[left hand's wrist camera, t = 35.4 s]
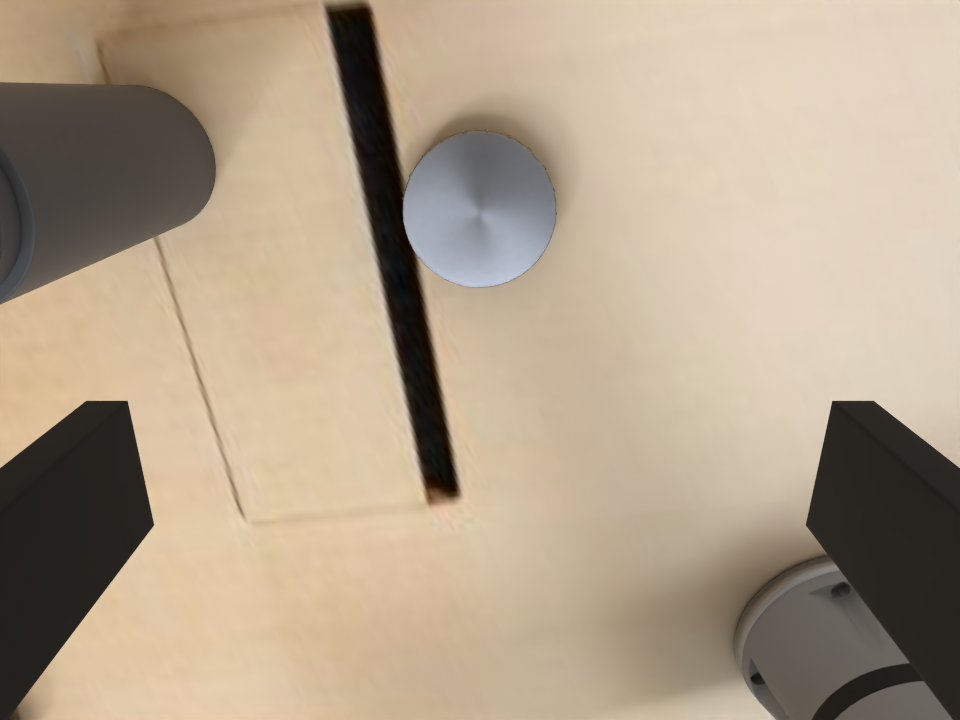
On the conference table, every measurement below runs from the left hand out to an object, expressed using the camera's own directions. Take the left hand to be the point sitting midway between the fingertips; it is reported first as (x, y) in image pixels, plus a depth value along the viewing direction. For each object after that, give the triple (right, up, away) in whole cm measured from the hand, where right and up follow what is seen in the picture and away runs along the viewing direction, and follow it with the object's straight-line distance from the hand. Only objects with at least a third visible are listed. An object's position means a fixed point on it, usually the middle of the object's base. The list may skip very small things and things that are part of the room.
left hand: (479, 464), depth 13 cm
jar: (-20, +14, +27) cm, 36 cm away
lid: (0, +10, +26) cm, 28 cm away
